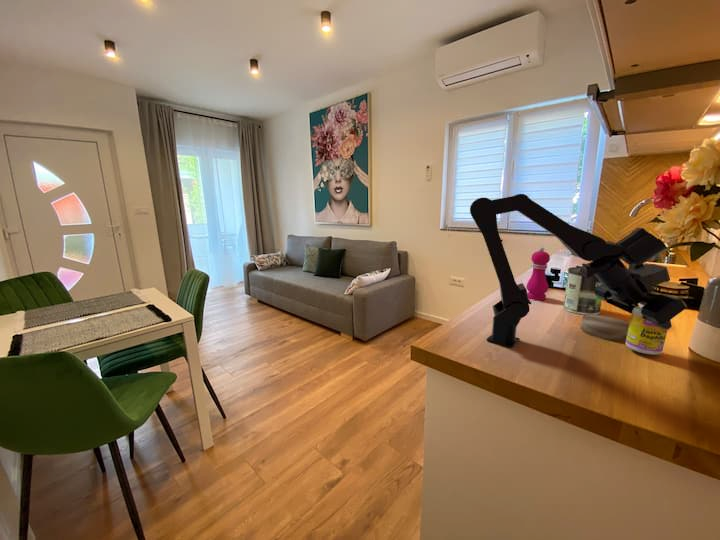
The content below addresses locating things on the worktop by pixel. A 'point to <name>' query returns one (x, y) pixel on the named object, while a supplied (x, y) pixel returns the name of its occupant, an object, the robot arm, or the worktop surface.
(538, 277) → the pepper mill
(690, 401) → the worktop surface
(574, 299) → the coffee can
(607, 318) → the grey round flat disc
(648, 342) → the supplement bottle
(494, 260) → the robot arm
